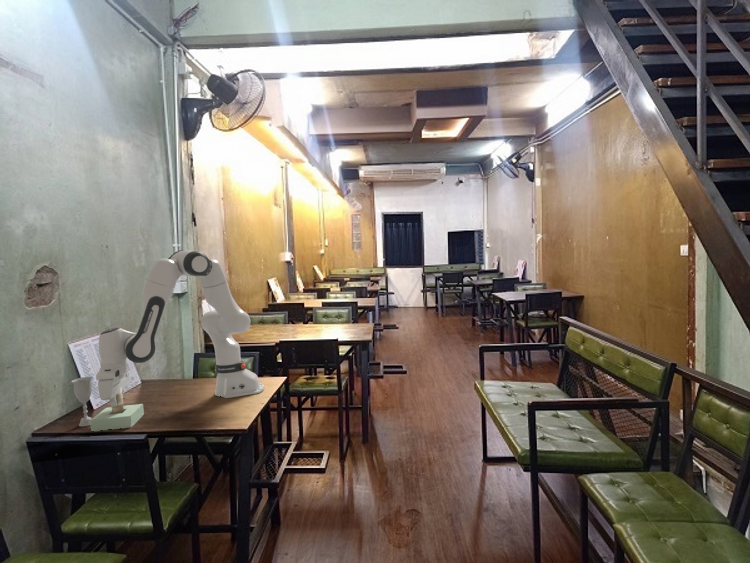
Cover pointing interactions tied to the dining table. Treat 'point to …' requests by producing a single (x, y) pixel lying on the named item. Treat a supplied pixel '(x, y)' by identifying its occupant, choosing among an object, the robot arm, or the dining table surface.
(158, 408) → the dining table surface
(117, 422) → the socket block
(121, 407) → the peg
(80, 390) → the chalice
